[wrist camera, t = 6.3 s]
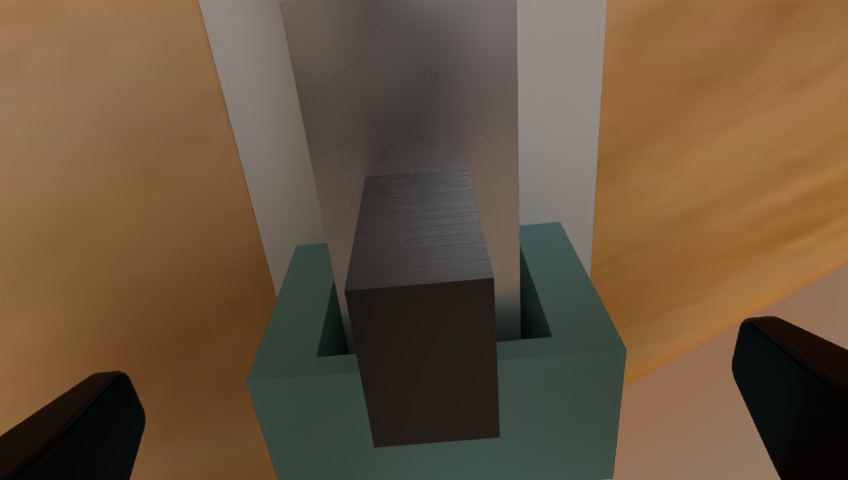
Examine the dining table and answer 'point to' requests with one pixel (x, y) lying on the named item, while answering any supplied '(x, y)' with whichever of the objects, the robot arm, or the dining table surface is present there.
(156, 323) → the dining table surface
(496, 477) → the socket block
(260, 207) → the base board
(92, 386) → the robot arm
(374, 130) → the grey bar with tab
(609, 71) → the dining table surface
